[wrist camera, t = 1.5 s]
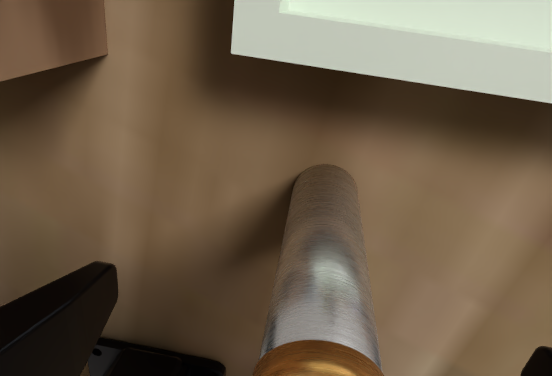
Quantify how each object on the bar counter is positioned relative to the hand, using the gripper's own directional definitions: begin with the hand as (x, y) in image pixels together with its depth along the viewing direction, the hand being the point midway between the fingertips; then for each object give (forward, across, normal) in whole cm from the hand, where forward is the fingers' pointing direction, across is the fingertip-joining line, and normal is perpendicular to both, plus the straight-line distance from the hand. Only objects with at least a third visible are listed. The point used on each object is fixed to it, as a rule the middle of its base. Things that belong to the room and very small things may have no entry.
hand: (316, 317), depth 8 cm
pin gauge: (+6, 0, 0) cm, 6 cm away
